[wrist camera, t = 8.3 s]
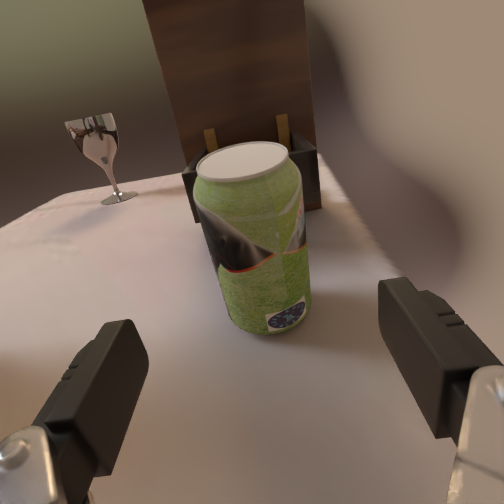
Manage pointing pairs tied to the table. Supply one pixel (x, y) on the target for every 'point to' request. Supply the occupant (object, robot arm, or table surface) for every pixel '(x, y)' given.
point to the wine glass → (99, 147)
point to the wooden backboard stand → (237, 80)
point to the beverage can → (256, 234)
